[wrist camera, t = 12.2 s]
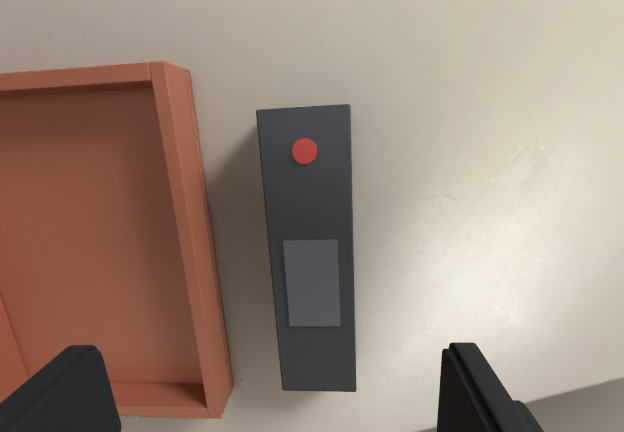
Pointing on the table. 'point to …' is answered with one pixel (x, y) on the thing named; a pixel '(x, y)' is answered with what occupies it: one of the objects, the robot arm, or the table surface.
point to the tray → (110, 236)
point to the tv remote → (311, 243)
